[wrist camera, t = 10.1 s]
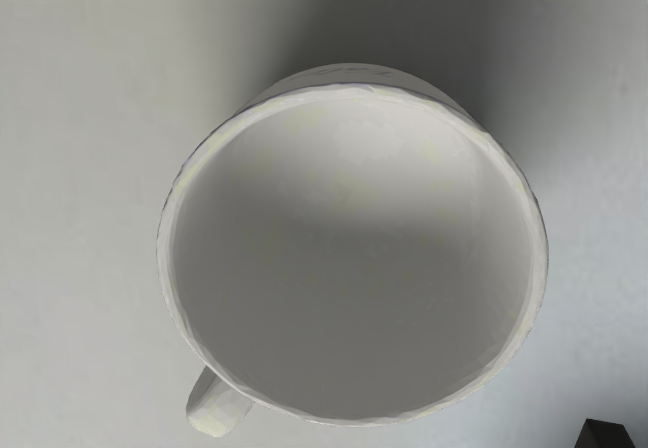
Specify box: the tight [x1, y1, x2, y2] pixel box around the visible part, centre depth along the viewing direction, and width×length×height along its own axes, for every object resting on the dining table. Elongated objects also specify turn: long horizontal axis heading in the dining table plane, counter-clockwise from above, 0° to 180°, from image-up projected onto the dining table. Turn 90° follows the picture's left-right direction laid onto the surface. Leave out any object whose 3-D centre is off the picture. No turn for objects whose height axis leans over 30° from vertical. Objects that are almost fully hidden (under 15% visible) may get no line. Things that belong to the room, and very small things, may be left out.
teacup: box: [156, 63, 548, 437], centre depth 19 cm, size 14×11×8 cm
